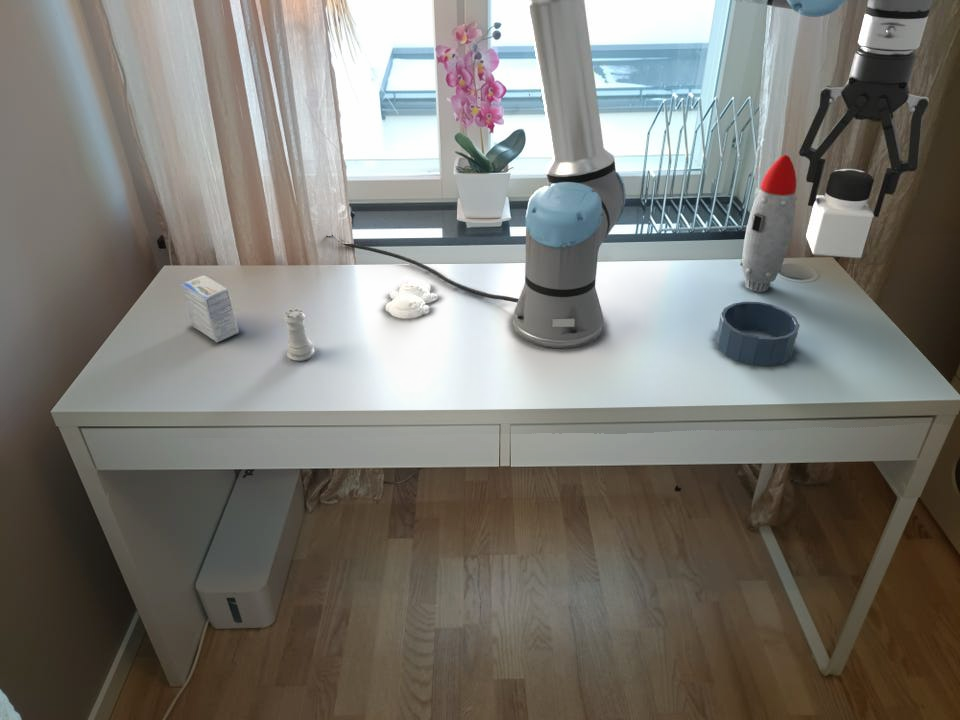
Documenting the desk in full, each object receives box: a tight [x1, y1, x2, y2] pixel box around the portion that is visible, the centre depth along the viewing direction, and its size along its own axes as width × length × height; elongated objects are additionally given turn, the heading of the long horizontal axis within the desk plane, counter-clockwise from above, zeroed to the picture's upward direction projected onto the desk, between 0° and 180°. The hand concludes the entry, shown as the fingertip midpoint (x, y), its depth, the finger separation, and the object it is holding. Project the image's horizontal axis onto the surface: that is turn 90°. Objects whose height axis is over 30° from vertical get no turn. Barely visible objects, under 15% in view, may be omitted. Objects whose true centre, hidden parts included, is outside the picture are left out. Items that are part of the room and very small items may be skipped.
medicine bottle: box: [805, 168, 875, 259], centre depth 113 cm, size 7×7×12 cm
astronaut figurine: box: [385, 280, 438, 319], centre depth 134 cm, size 9×12×3 cm
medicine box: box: [181, 275, 239, 343], centre depth 125 cm, size 8×4×9 cm, turn 47°
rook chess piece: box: [283, 307, 315, 362], centre depth 118 cm, size 4×4×8 cm
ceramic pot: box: [715, 301, 800, 367], centre depth 120 cm, size 12×12×5 cm
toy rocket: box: [739, 154, 798, 293], centre depth 131 cm, size 8×8×25 cm
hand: (843, 208), depth 112 cm, fingers closed on medicine bottle, 8 cm apart
